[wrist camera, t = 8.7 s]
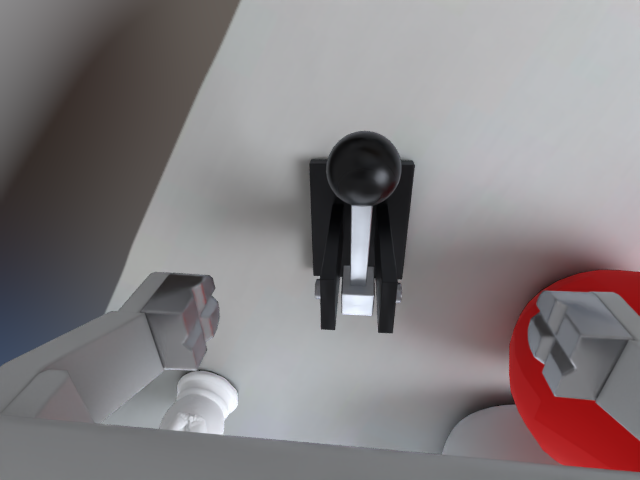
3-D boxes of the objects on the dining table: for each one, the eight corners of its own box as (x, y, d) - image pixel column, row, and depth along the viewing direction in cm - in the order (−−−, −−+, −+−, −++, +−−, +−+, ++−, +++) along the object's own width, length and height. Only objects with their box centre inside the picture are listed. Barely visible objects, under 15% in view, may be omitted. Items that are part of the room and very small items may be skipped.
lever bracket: (311, 159, 33) (285, 226, 22) (413, 160, 32) (438, 231, 21) (314, 269, 39) (295, 365, 28) (400, 272, 38) (416, 373, 27)
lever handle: (327, 115, 18) (321, 163, 16) (403, 115, 18) (408, 164, 15) (334, 279, 29) (331, 321, 27) (381, 281, 28) (382, 324, 26)
